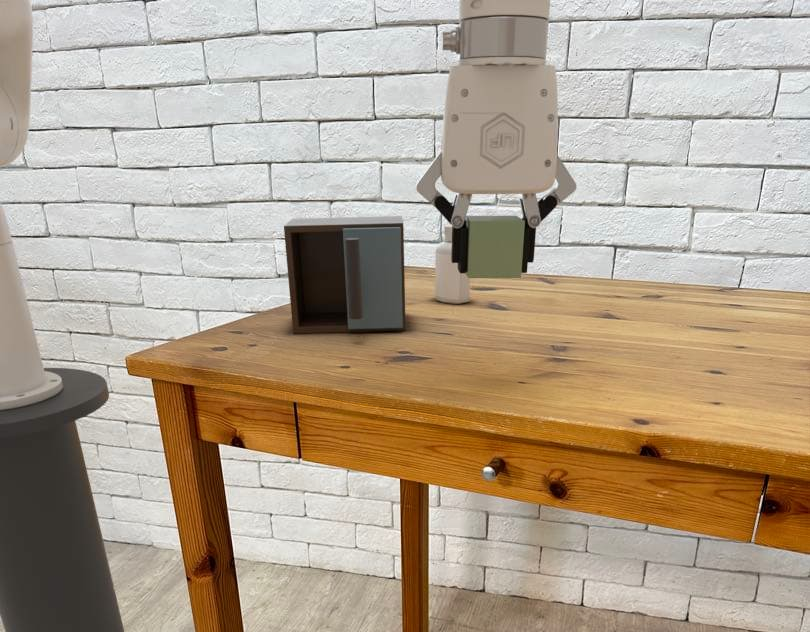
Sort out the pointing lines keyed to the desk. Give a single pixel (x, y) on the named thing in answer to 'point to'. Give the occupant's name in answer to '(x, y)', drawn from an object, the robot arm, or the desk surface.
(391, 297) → the closet door
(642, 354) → the desk surface
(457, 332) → the desk surface
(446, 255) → the eye dropper bottle
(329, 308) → the closet
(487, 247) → the block
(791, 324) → the desk surface
